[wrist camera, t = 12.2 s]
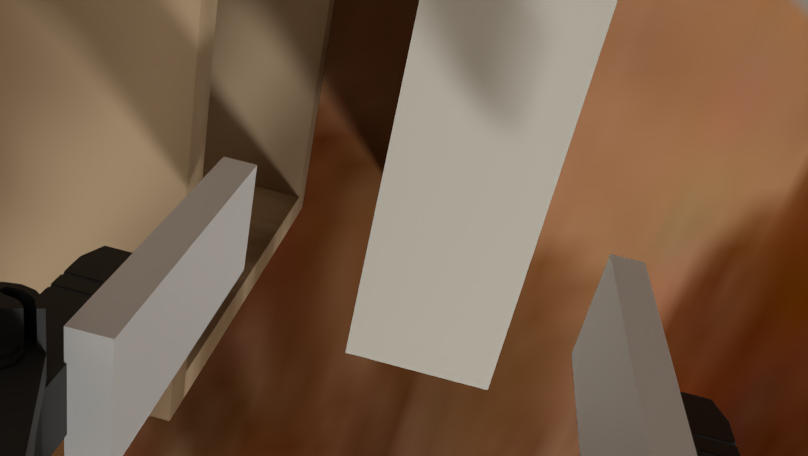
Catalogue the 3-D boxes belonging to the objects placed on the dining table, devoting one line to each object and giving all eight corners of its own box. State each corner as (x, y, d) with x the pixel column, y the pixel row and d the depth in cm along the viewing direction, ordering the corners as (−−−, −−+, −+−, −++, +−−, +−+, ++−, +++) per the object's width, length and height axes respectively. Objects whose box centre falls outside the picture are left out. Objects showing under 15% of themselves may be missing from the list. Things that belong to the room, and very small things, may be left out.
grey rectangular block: (394, 198, 33) (336, 349, 24) (466, -124, 27) (426, -96, 18) (502, 226, 33) (487, 390, 24) (599, -93, 27) (632, -47, 17)
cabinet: (45, 140, 35) (-226, 313, 22) (34, -282, 27) (-388, -370, 15) (319, 211, 34) (196, 428, 22) (389, -198, 26) (259, -217, 14)
